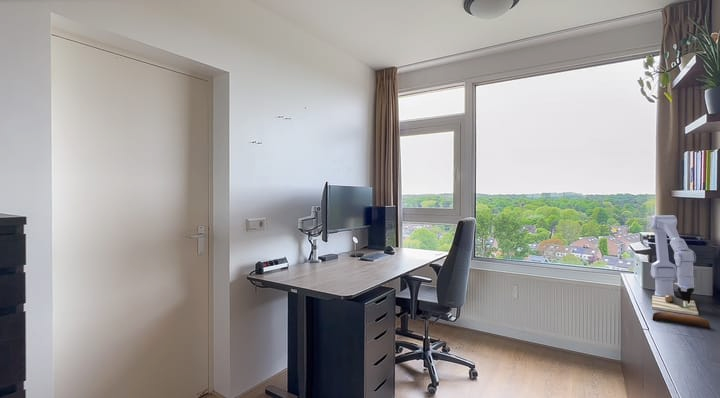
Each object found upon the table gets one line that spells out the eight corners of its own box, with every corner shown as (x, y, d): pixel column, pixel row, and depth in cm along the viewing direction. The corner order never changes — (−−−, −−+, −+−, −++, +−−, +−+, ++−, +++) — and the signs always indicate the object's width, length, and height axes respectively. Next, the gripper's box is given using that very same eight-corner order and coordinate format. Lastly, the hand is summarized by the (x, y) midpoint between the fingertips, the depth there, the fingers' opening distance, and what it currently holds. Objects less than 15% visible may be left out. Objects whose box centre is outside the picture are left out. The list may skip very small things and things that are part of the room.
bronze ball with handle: (663, 300, 172) (662, 294, 172) (671, 300, 171) (671, 294, 171) (682, 307, 160) (681, 301, 160) (691, 307, 160) (690, 301, 160)
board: (652, 297, 181) (652, 295, 181) (694, 303, 170) (694, 300, 170) (652, 308, 164) (652, 306, 164) (698, 315, 154) (698, 312, 154)
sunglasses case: (707, 322, 145) (707, 311, 142) (709, 336, 140) (710, 324, 138) (651, 315, 156) (651, 304, 154) (652, 326, 152) (652, 316, 149)
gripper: (676, 271, 172) (677, 298, 172) (671, 276, 163) (672, 304, 163) (695, 273, 167) (696, 301, 167) (692, 279, 157) (693, 308, 157)
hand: (686, 303), depth 164 cm, fingers closed
